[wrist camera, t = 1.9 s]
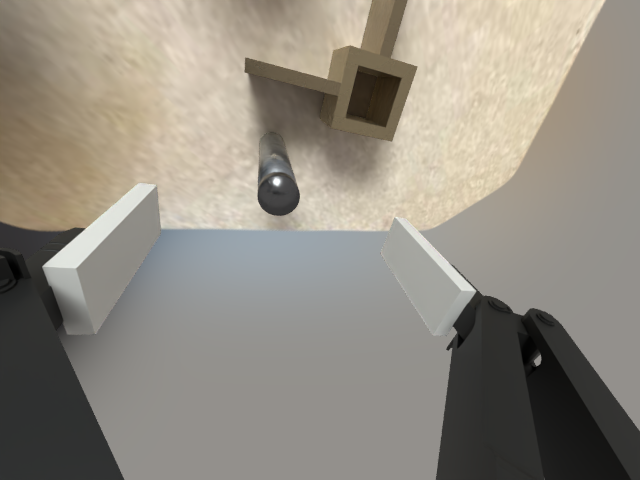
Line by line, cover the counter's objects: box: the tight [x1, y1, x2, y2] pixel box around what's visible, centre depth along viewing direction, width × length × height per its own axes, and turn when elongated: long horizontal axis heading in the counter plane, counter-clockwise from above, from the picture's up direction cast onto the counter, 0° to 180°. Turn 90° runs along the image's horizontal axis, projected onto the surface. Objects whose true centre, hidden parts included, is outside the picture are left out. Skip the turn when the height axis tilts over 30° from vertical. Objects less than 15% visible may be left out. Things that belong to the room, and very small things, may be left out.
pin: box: [258, 132, 300, 216], centre depth 24 cm, size 3×3×15 cm
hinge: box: [245, 0, 417, 141], centre depth 23 cm, size 14×16×6 cm
